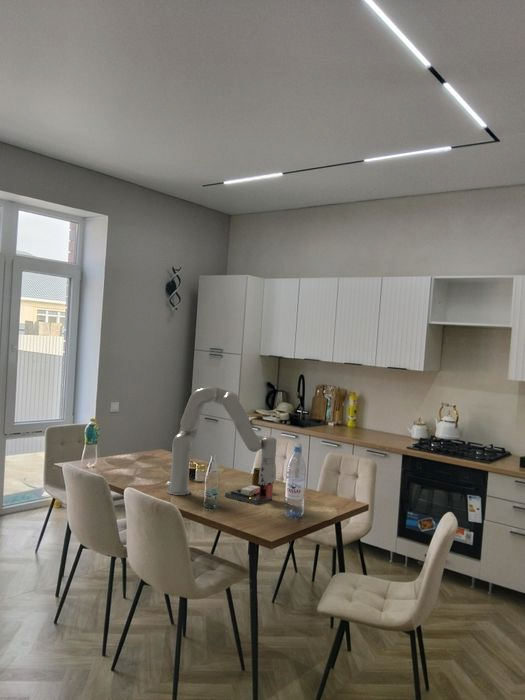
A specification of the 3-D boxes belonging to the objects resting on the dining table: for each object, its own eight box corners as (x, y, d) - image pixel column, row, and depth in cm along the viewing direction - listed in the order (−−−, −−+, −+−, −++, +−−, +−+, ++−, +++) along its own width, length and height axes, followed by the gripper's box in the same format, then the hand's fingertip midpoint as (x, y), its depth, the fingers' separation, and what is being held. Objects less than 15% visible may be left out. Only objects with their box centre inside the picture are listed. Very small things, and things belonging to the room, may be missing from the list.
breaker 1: (240, 494, 295) (241, 488, 295) (246, 492, 300) (246, 487, 300) (248, 496, 293) (249, 490, 293) (254, 494, 297) (254, 489, 297)
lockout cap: (259, 495, 296) (259, 484, 296) (264, 494, 300) (265, 483, 300) (267, 497, 294) (267, 486, 294) (272, 496, 298) (272, 484, 298)
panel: (225, 496, 297) (225, 491, 297) (241, 491, 310) (241, 486, 310) (256, 504, 286) (256, 499, 286) (272, 499, 299) (272, 494, 299)
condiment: (259, 488, 321) (261, 467, 321) (266, 491, 314) (268, 470, 314) (248, 488, 318) (249, 467, 318) (255, 492, 310) (257, 471, 310)
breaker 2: (246, 492, 301) (247, 486, 301) (251, 490, 305) (252, 485, 305) (254, 494, 298) (254, 488, 298) (259, 492, 302) (260, 486, 302)
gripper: (265, 464, 288) (262, 499, 288) (282, 459, 302) (280, 493, 302) (253, 461, 292) (250, 496, 292) (270, 457, 306) (268, 490, 306)
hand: (265, 494), depth 297 cm, fingers closed on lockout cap, 5 cm apart
